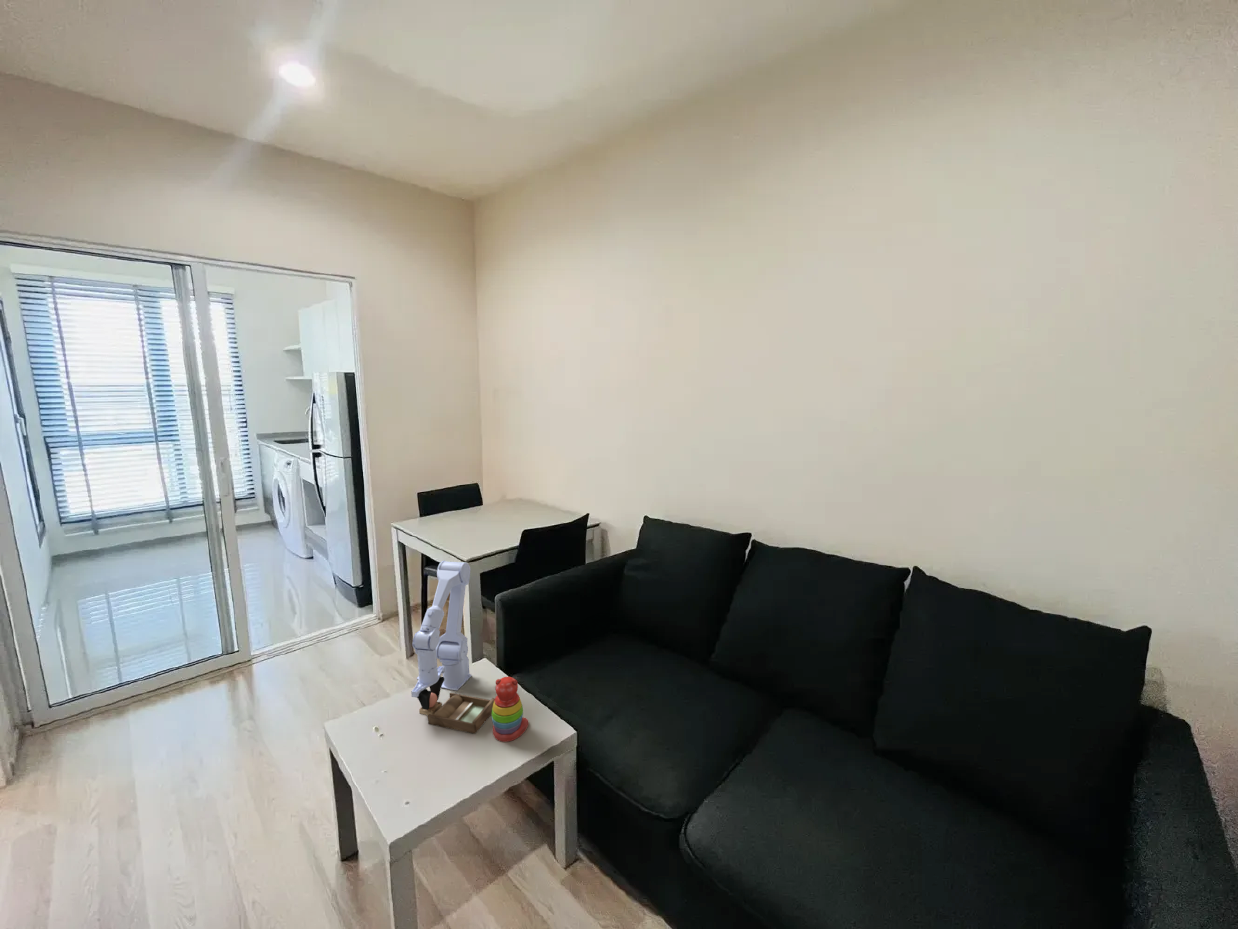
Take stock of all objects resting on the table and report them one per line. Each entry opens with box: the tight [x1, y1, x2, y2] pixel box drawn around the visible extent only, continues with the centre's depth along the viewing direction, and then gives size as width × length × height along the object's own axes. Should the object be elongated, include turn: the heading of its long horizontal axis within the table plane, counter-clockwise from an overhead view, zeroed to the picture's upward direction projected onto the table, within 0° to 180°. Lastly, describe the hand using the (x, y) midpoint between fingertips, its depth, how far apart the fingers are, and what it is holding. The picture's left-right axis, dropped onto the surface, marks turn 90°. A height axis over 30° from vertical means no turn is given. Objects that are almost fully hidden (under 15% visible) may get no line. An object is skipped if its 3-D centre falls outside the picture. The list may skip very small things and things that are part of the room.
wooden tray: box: [427, 692, 496, 735], centre depth 159 cm, size 12×17×7 cm
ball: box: [429, 693, 438, 707], centre depth 161 cm, size 4×4×4 cm
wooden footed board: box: [419, 701, 443, 716], centre depth 162 cm, size 5×5×2 cm
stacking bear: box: [491, 676, 530, 743], centre depth 151 cm, size 11×10×18 cm
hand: (430, 704), depth 162 cm, fingers closed on ball, 4 cm apart
